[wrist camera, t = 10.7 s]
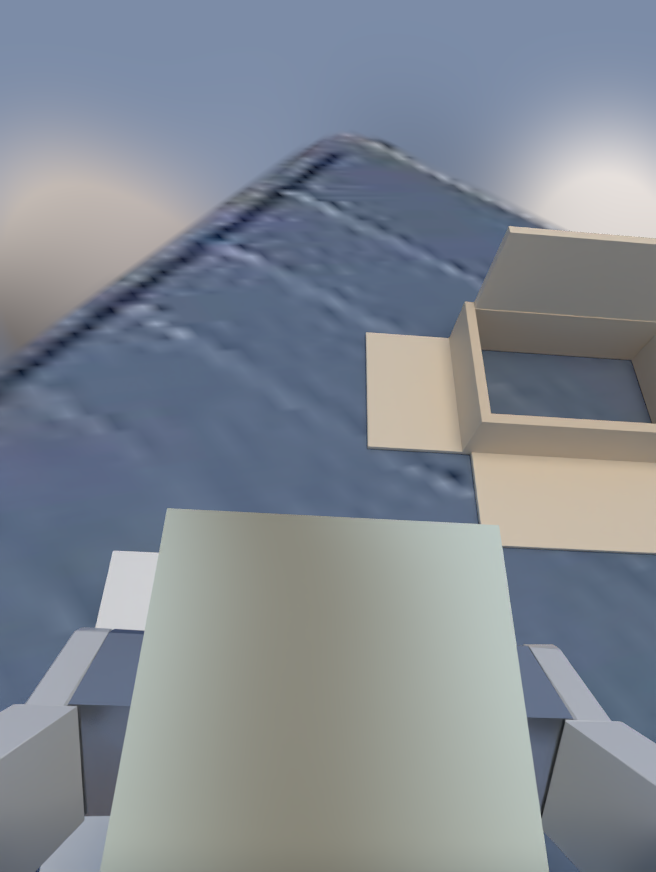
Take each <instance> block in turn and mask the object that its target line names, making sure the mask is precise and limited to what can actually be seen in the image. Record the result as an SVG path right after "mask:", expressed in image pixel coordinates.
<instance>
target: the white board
mask: <svg viewBox="0 0 656 872" xmlns="http://www.w3.org/2000/svg"><path fill="white" fill-rule="evenodd" d="M158 556H159V553H151V552H128V551H113V554H112V558H111V562H110V567H109V571H108V575H107V580H106V584H105V588H104V593H103V597H102V601H101V606H100V610H99V614H98V619H97V623H96V628H105V629H112V630H113V629H126V630H143V631H145V626H146V620H147V615H148V609H149V604H150V599H151V593H152V588H153V583H154V577H155V572H156V566H157V561H158ZM84 817H85V821H84V822H83V823H82V824H81V825H80V826H79V827H78V828H77V829H76V830H75V831H74V832H73V833H72V834H71V835H70V836H69V837H68V838H67V839H66V840H65V841H64V842H63V844H62V845H61V846H60V847H59V848H58V849H57V850H56V851H55V852H54V853H53V854H52V855H51V856H50V857H49V858H48V859H47V860H46V861H45V862H44V863H43V864H42V865H41V867H40V871H39V872H100V868H101V863H102V857H103V852H104V846H105V841H106V836H107V830H108V825H109V819H110V816H84Z"/></svg>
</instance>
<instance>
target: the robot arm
mask: <svg viewBox="0 0 656 872" xmlns="http://www.w3.org/2000/svg"><path fill="white" fill-rule="evenodd" d="M143 636H144V631H143V630H126V629H113V630H112V629H105V628H80V629H78V630H76V631H75V632H74V633H73V634H72V636H71V637H70V639H69V640H68V642H67V643H66V645H65V646H64V648H63V649H62V650H61V652H60V653H59V655H58V656H57V658H56V659H55V661H54V662H53V664H52V665H51V667H50V668H49V669H48V671H47V672H46V674H45V675H44V677H43V678H42V680H41V681H40V683H39V684H38V686H37V687H36V688H35V690H34V691H33V693H32V694H31V696H30V697H29V699H28V700H27V702H26V703H25V704H14V705H12V706H10V707H8V708H7V709H5V710H3V711H2V712H0V872H36V870H37V869H38V868H39V867H40V866H41V865H42V864H43V863H44V862H45V861H46V860H47V859H48V858H49V857H50V856H51V855H52V854H53V853H54V852H55V851H56V850H57V849H58V848H59V847H60V846H61V845H62V844H63V842H64V841H65V840H66V839H67V838H68V837H69V836H70V835H71V834H72V833H73V832H74V831H75V830H76V829H77V828H78V827H79V826H80V825H81V824H82V823H83V822H84V821H85V817H84V816H110V814H111V809H112V803H113V798H114V793H115V787H116V782H117V776H118V771H119V766H120V760H121V755H122V749H123V744H124V739H125V733H126V728H127V723H128V717H129V712H130V706H131V701H132V696H133V690H134V685H135V679H136V674H137V669H138V663H139V658H140V653H141V647H142V642H143ZM516 646H517V653H518V660H519V667H520V674H521V681H522V688H523V695H524V702H525V709H526V715H527V722H528V729H529V736H530V743H531V750H532V757H533V764H534V771H535V778H536V785H537V792H538V799H539V805H540V812H541V819H542V826H543V831H544V832H545V833H546V834H547V836H548V837H549V838H550V839H551V840H552V841H553V842H554V843H555V844H556V845H557V846H558V848H559V849H560V850H561V851H562V852H563V853H564V854H565V855H566V856H567V857H568V858H569V859H570V861H571V862H572V863H573V864H574V865H575V866H576V867H577V868H578V869H579V870H580V871H581V872H656V744H655V743H654V742H652V741H651V740H649V739H648V738H646V737H645V736H643V735H641V734H640V733H638V732H637V731H635V730H634V729H632V728H631V727H629V726H627V725H626V724H624V723H623V722H619V721H611V720H610V719H609V717H608V716H607V714H606V713H605V712H604V710H603V709H602V707H601V706H600V705H599V703H598V702H597V700H596V699H595V698H594V696H593V695H592V693H591V692H590V691H589V689H588V688H587V686H586V685H585V684H584V682H583V681H582V679H581V678H580V677H579V675H578V674H577V672H576V671H575V670H574V668H573V667H572V665H571V664H570V663H569V661H568V660H567V658H566V657H565V656H564V654H563V653H562V651H561V650H560V649H559V648H557V647H556V646H554V645H530V644H523V645H522V646H521V645H516Z"/></svg>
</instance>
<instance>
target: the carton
mask: <svg viewBox="0 0 656 872" xmlns="http://www.w3.org/2000/svg"><path fill="white" fill-rule="evenodd" d="M481 350H492V351H507V352H521V353H536V354H550V355H565V356H579V357H593V358H608V359H622V360H631V361H632V364H633V367H634V370H635V373H636V376H637V379H638V382H639V385H640V388H641V391H642V394H643V397H644V400H645V403H646V406H647V409H648V412H649V415H650V418H651V421H652V424H651V423H635V422H619V421H603V420H587V419H570V418H554V417H538V416H522V415H506V414H491V410H490V404H489V397H488V391H487V384H486V378H485V371H484V364H483V358H482V351H481ZM366 391H367V449H383V450H400V451H418V452H435V453H452V454H470V457H471V465H472V473H473V481H474V489H475V497H476V505H477V513H478V521H479V524H485V525H499V529H500V535H501V542H502V547H506V548H527V549H548V550H569V551H591V552H612V553H633V554H654V555H656V238H644V237H632V236H619V235H607V234H596V233H584V232H572V231H560V230H548V229H536V228H524V227H512V226H509V227H508V229H507V231H506V234H505V236H504V238H503V240H502V242H501V245H500V247H499V249H498V251H497V253H496V256H495V258H494V260H493V262H492V264H491V267H490V269H489V271H488V273H487V275H486V278H485V280H484V282H483V284H482V286H481V289H480V291H479V293H478V295H477V297H476V300H475V302H465V303H464V305H463V307H462V310H461V312H460V314H459V317H458V319H457V321H456V323H455V326H454V328H453V330H452V333H451V335H450V337H449V338H439V337H424V336H410V335H396V334H382V333H367V332H366Z"/></svg>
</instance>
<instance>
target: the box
mask: <svg viewBox="0 0 656 872" xmlns="http://www.w3.org/2000/svg"><path fill="white" fill-rule="evenodd" d="M100 872H549V868H548V861H547V854H546V847H545V840H544V833H543V826H542V819H541V812H540V805H539V799H538V792H537V785H536V778H535V771H534V764H533V757H532V750H531V743H530V736H529V729H528V722H527V715H526V709H525V702H524V695H523V688H522V681H521V674H520V667H519V660H518V653H517V646H516V639H515V632H514V625H513V619H512V612H511V605H510V598H509V591H508V584H507V577H506V570H505V563H504V556H503V549H502V542H501V535H500V529H499V525H485V524H465V523H446V522H426V521H406V520H387V519H367V518H347V517H328V516H308V515H288V514H269V513H249V512H229V511H210V510H190V509H170V508H167V513H166V518H165V523H164V529H163V534H162V539H161V545H160V550H159V556H158V561H157V566H156V572H155V577H154V583H153V588H152V593H151V599H150V604H149V609H148V615H147V620H146V626H145V631H144V636H143V642H142V647H141V653H140V658H139V663H138V669H137V674H136V679H135V685H134V690H133V696H132V701H131V706H130V712H129V717H128V723H127V728H126V733H125V739H124V744H123V749H122V755H121V760H120V766H119V771H118V776H117V782H116V787H115V793H114V798H113V803H112V809H111V814H110V819H109V825H108V830H107V836H106V841H105V846H104V852H103V857H102V863H101V868H100Z"/></svg>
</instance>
